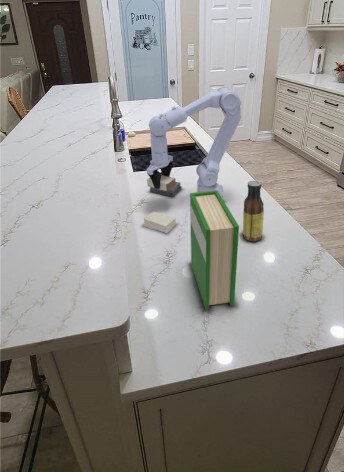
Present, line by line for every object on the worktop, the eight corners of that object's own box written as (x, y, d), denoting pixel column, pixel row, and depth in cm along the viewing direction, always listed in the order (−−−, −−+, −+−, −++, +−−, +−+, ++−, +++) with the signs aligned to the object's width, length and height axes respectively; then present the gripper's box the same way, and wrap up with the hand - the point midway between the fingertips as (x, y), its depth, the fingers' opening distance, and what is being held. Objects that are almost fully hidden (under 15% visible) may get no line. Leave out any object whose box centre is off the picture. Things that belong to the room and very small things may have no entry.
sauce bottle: (263, 233, 110) (269, 180, 101) (259, 244, 105) (265, 189, 96) (244, 229, 112) (248, 177, 103) (239, 239, 107) (243, 185, 98)
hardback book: (234, 305, 83) (239, 226, 72) (205, 309, 82) (206, 230, 71) (215, 261, 99) (217, 190, 87) (191, 264, 98) (190, 193, 87)
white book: (175, 185, 124) (175, 178, 122) (167, 191, 119) (167, 184, 118) (155, 180, 128) (155, 173, 127) (147, 186, 124) (146, 179, 122)
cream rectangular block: (176, 224, 117) (176, 217, 115) (167, 233, 112) (166, 226, 111) (153, 218, 121) (152, 211, 120) (143, 226, 117) (142, 219, 115)
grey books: (182, 189, 141) (181, 182, 140) (172, 197, 135) (171, 191, 134) (160, 184, 147) (159, 178, 145) (149, 192, 140) (148, 185, 139)
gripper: (160, 143, 125) (162, 175, 131) (138, 155, 114) (141, 190, 120) (177, 145, 121) (178, 178, 128) (155, 159, 110) (157, 194, 117)
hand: (161, 184), depth 124 cm, fingers closed on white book, 5 cm apart
